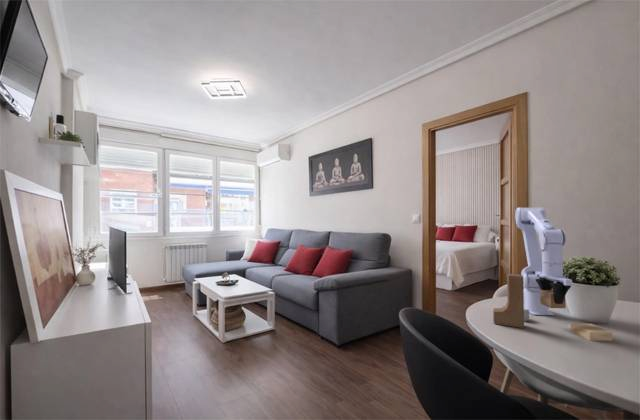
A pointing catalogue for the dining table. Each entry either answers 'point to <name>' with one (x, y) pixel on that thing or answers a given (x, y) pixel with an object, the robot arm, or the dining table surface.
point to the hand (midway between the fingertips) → (552, 301)
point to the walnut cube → (550, 299)
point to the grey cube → (526, 314)
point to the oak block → (591, 332)
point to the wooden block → (512, 304)
